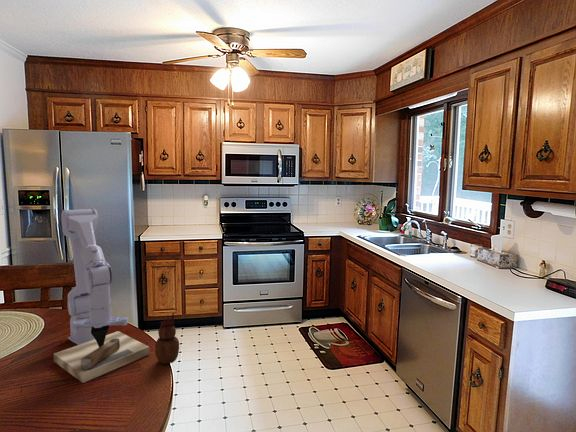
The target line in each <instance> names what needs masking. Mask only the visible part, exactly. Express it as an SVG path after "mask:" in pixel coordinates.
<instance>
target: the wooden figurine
mask: <svg viewBox="0 0 576 432" xmlns="http://www.w3.org/2000/svg"><path fill="white" fill-rule="evenodd" d="M174 315H175V313H174V312H172V314H171V318H170V317H169V314H167V317H166V318H163V321H160V327H159V328H158V337H157V338H158V339H157V340H156V341H155V345H154V346H155V348H154V349H155V351H154V354H155V357H156V359H157V361H158V362H159V363H160V364H164V365H167V364H168V365H169V364H173V363H174V362H175V361H176V360H178V359H177V358H178V356H179V351H180V341H179V338H178V337H177V336H176V331H177V330H176V327H175V325H174V324H175V318H174V317H175V316H174Z"/></svg>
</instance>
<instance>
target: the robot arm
mask: <svg viewBox="0 0 576 432" xmlns="http://www.w3.org/2000/svg"><path fill="white" fill-rule="evenodd" d="M60 215H61V216H60V218H61V231H62V233H63V236H65V237H68V238H69V239H70V242H71V250H72V261H73V269H74V278H75V279H74V280H75V286H74V287H73V288H72V289H71V290H70V291H69V292H68V294H67V311H68V315H69V316H70V320H69V327H70V336H68V337H67V339H68V340H70V341H71V342H72V343H74V344H76V346H77V345H80V344H83V343H86V342H89V341H91V340H94V339H95V340H96V341H97V344H98V346H99V347H101V346H102V345H104V341H105V338H106V335H108V332H109V329H110V328H111V327H113V326H127V325H128V323H129V322H128V317H127V316H112V306H111V305H112V301H111V284H112V283H113V276H114V275H113V270H112V267H111V265H110V264H109V262H108V261H106V258H105V255H104V252H103V249H102V247H101V246H99V245H97V241H96V236H95V231H96V229H97V226H98V225H99V215H98V211H97V209H96V208H83V209H82V208H81V209H63V210H62V211H61V214H60Z"/></svg>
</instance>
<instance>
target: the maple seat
mask: <svg viewBox="0 0 576 432" xmlns="http://www.w3.org/2000/svg"><path fill="white" fill-rule="evenodd" d="M116 338H117V339H119V342H120V348H119V349H117V350H116V351H114V352H113V353H112V354H110V355H109V356H107V357H106V358H104V359H103V360H101V361H100V362H98V363H97V364H95V365H94V366H93V367H91V368H90V369H87V370H82V369H81V359H82V358H83V357H85V356H86V355H88V354H90V353H91V352H93V351H94V350H96V349H98V348H99V346H98V344H97V341H96V340H95V339H94V340H91V341H89V342H86V343H83V344H80V345H77V344H76V345H74V346H72V347H69V348H66V349H63V350H60V351H58V352H54V353H53V362H54V363H55V364H56V365H58V366H59V367H61V369H63V370H65V371H66V372H67V373H69V374H70V375H71V376H73V377H74V378H76V379H77V380H78V381H79V382H81V383H82V384H83V383H86V382H89V381H91V380H93V379H96V378H98V377H100V376H102V375H105V374H107V373H109V372H111V371H114V370H116V369H118V368H121V367H124V366H126V365H128V364H130V363H133V362H135V361H137V360H140V359H142V358H145V357H146V356H149V355H150V346H149V345H147V344H145V343H144V342H143V343H142V342H140V341H138V340H137V339H134V338H133V337H131V336H129V335H127V334H125V333H123V332H121V331H119V330H118V331H115V332H112V333H109V334H107V335H106V338H105V341H104V344H105V343H107V342H109V341H110V340H112V339H116Z"/></svg>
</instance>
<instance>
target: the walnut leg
mask: <svg viewBox="0 0 576 432" xmlns="http://www.w3.org/2000/svg"><path fill="white" fill-rule="evenodd" d="M119 348H120V342H119V339H117V338H116V339H112V340H110V341H109V342H107V343H105V344H104V345H102V346H101V347H99V348H98V349H96V350H94V351H93V352H91V353H90V354H88V355H86V356H85V357H83V358H82V359H81V369H82V370H87V369H90V368H91V367H93V366H94V365H95V364H97V363H98V362H100V361H101V360H103V359H104V358H106V357H107V356H109V355H110V354H112V353H113V352H114V351H116V350H117V349H119Z"/></svg>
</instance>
